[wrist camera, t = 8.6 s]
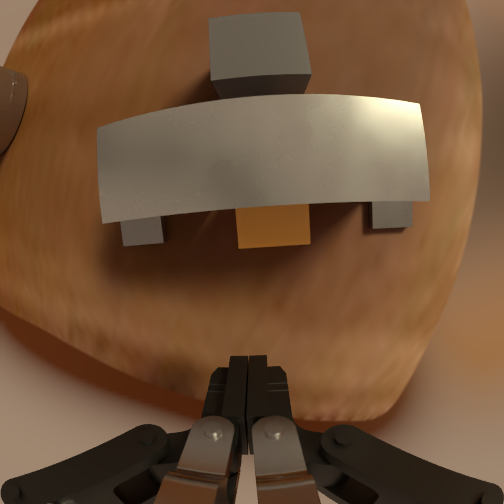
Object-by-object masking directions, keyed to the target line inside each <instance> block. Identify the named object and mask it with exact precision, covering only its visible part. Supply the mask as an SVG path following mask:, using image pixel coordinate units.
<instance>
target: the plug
mask: <svg viewBox="0 0 504 504" xmlns="http://www.w3.org/2000/svg"><path fill="white" fill-rule="evenodd" d="M209 48H210V73H211V82H212V84H213V86H214V88H215V90H216V92H217V94H218V96H219V98H220V100H223V99H231V98H241V97H252V96H265V95H286V94H304V92H305V90H306V87H307V85H308V82H309V80H310V77H311V75H312V72H311V66H310V61H309V55H308V50H307V44H306V39H305V34H304V30H303V25H302V20H301V16H300V12H268V13H251V14H239V15H230V16H222V17H215V18H209ZM235 210H236V222H237V234H238V245H239V249H243V248H258V247H273V246H288V245H304V244H311V243H310V219H309V204H292V205H276V206H261V207H248V208H236V209H235Z"/></svg>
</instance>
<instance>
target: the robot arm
mask: <svg viewBox="0 0 504 504" xmlns="http://www.w3.org/2000/svg"><path fill="white" fill-rule="evenodd" d="M26 98H27V80H26V77H25V76H24V75H23V74H22V73H19V72H16V71H13V70H10V69H7V68H4V67H1V66H0V155H1V154H2V153H3V152H4V151H5V149H6V148H7V147H8V145H9V144H10V142H11V140H12V138H13V137H14V135H15V133H16V130H17V128H18V126H19V123H20V120H21V117H22V115H23V111H24V107H25V103H26ZM248 445H249V450H250V454H254V463H255V475H256V486H257V497H258V504H321V502H320V499H319V495H318V491H320V492H321V493H323V494H324V495H326V496H327V497H329V498H330V499H332V500H333V501H335V502H336V503H338V504H503V500H504V494H503V492H502V489H501V488H500V487H499V486H498V485H496V484H493V483H489V482H486V481H482V480H478V479H476V478H472V477H469V476H466V475H463V474H460V473H457V472H454V471H451V470H449V469H446V468H444V467H441V466H438V465H436V464H433V463H431V462H428V461H426V460H423V459H421V458H419V457H416V456H414V455H412V454H409V453H407V452H405V451H403V450H401V449H399V448H396V447H394V446H392V445H390V444H388V443H386V442H384V441H382V440H380V439H378V438H376V437H374V436H372V435H370V434H368V433H366V432H364V431H362V430H360V429H359V428H357V427H354V426H351V425H336V426H333V427H331V428H329V429H328V430H326V431H325V432H324V433H319V432H312V431H308V430H304V429H302V428H301V427H299V426H298V425H297V424H296V423H295V422H294V420H293V418H292V412H291V405H290V398H289V391H288V384H287V377H286V373H285V372H284V370H283V369H282V368H281V367H280V366H272V367H267V355H256V356H249V360H248V356H230V362H229V368H225V367H218V368H217V369H216V370H215V371H214V372H213V374H212V375H211V378H210V383H209V387H208V392H207V395H206V400H205V404H204V408H203V412H202V417H201V419H199V420H198V421H196V422H195V423H194V424H193V426H192V428H191V429H189V430H187V431H183V432H177V433H169V434H166V432H165V431H164V430H163V429H162V428H161V427H159V426H156V425H152V424H144V425H140V426H137V427H135V428H133V429H132V430H129V431H127V432H125V433H124V434H122V435H120V436H118V437H116V438H113V439H111V440H110V441H107V442H105V443H103V444H101V445H99V446H97V447H94V448H92V449H90V450H88V451H86V452H83V453H81V454H79V455H76V456H74V457H72V458H69V459H67V460H64V461H62V462H59V463H56V464H54V465H51V466H49V467H46V468H43V469H40V470H37V471H35V472H31V473H29V474H25V475H22V476H19V477H16V478H13V479H9V480H7V481H6V482H5V483H4V484H3V485H2V488H1V498H2V500H3V502H4V503H5V504H235V500H236V495H237V489H238V482H239V477H240V467H241V458H242V454H245V455H247V454H248ZM317 490H318V491H317Z"/></svg>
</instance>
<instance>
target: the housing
mask: <svg viewBox="0 0 504 504" xmlns="http://www.w3.org/2000/svg"><path fill="white" fill-rule="evenodd" d="M97 163H98V182H99V195H100V206H101V215H102V224H104V223H111V222H118V221H120V224H121V232H122V239H123V246H133V245H145V244H156V243H164V242H166V241H167V238H166V230H165V221H164V216H165V215H174V214H183V213H192V212H202V211H213V210H224V209H236V208H248V207H261V206H276V205H292V204H311V203H334V202H368V201H369V228H372V229H377V228H399V227H412V201H430V190H429V173H428V161H427V151H426V142H425V135H424V128H423V121H422V116H421V110H420V105H419V104H417V103H411V102H405V101H398V100H391V99H383V98H374V97H363V96H350V95H330V94H286V95H265V96H252V97H241V98H231V99H223V100H215V101H208V102H202V103H196V104H190V105H184V106H179V107H174V108H169V109H165V110H160V111H156V112H151V113H147V114H143V115H139V116H135V117H132V118H128V119H125V120H121V121H118V122H114V123H111V124H108V125H105V126H102V127H99V128H97Z"/></svg>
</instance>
